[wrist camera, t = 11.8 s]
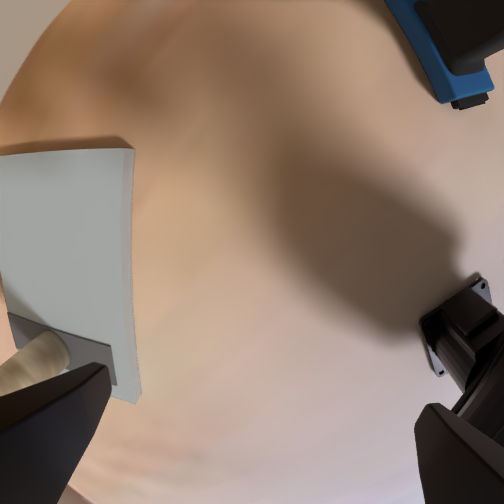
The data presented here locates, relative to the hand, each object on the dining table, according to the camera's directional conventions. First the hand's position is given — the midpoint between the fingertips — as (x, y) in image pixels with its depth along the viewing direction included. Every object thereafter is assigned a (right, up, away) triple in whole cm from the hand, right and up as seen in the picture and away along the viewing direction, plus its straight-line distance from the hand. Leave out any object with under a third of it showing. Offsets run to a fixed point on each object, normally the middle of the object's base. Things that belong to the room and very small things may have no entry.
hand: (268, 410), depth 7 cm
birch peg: (-17, -4, +15) cm, 23 cm away
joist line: (-18, -4, +15) cm, 23 cm away
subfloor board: (-16, +2, +14) cm, 22 cm away
